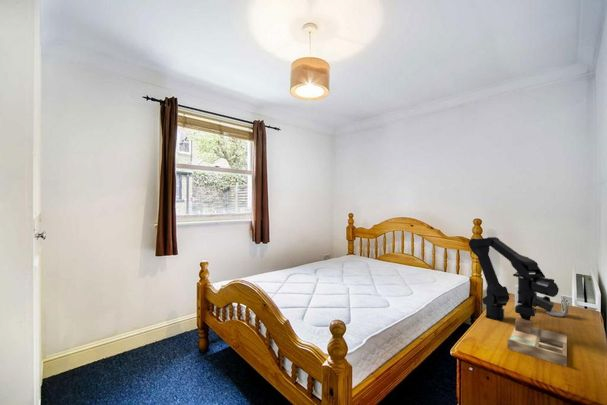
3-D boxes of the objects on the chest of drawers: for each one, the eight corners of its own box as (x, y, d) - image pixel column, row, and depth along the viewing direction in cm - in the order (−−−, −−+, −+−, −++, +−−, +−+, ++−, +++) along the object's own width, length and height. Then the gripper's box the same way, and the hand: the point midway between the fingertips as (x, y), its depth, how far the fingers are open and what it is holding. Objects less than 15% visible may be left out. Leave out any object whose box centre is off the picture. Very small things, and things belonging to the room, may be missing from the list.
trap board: (507, 348, 101) (507, 339, 101) (516, 327, 119) (516, 319, 119) (566, 366, 90) (566, 356, 90) (566, 340, 108) (566, 331, 108)
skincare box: (524, 311, 137) (524, 287, 138) (514, 308, 141) (514, 285, 141) (529, 308, 141) (529, 285, 141) (518, 306, 145) (518, 283, 145)
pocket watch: (542, 312, 136) (542, 292, 136) (557, 311, 137) (557, 292, 137) (559, 319, 128) (558, 298, 128) (574, 318, 129) (574, 297, 129)
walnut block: (515, 330, 112) (515, 320, 112) (516, 326, 116) (516, 317, 116) (530, 334, 108) (530, 324, 108) (531, 330, 112) (531, 320, 112)
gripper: (551, 299, 102) (551, 339, 102) (552, 288, 116) (553, 324, 116) (514, 292, 110) (515, 330, 110) (519, 283, 124) (520, 316, 123)
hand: (526, 325), depth 115 cm, fingers closed
